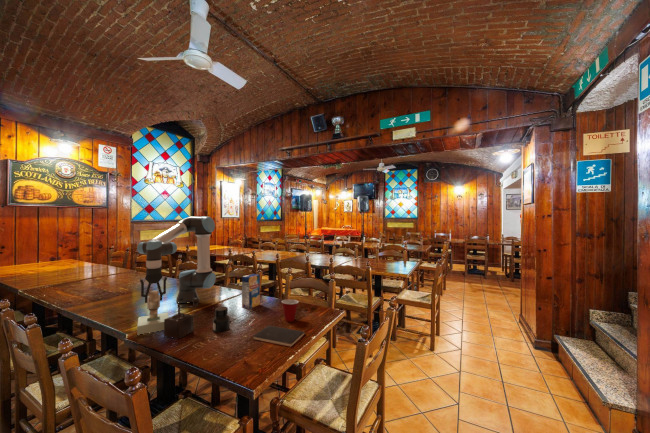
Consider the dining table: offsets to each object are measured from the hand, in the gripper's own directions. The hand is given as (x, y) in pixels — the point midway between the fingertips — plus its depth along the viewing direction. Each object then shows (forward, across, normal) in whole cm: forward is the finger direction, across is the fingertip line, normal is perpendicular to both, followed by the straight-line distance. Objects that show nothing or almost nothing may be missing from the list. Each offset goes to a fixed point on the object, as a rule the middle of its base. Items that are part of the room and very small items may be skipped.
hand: (153, 307), depth 159 cm
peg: (+6, 0, 0) cm, 6 cm away
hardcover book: (+13, -58, +49) cm, 77 cm away
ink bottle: (+12, -33, +23) cm, 42 cm away
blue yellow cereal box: (+12, -60, -9) cm, 62 cm away
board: (+12, 0, 0) cm, 12 cm away
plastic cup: (+12, -73, +30) cm, 80 cm away
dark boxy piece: (+12, -14, +16) cm, 24 cm away
